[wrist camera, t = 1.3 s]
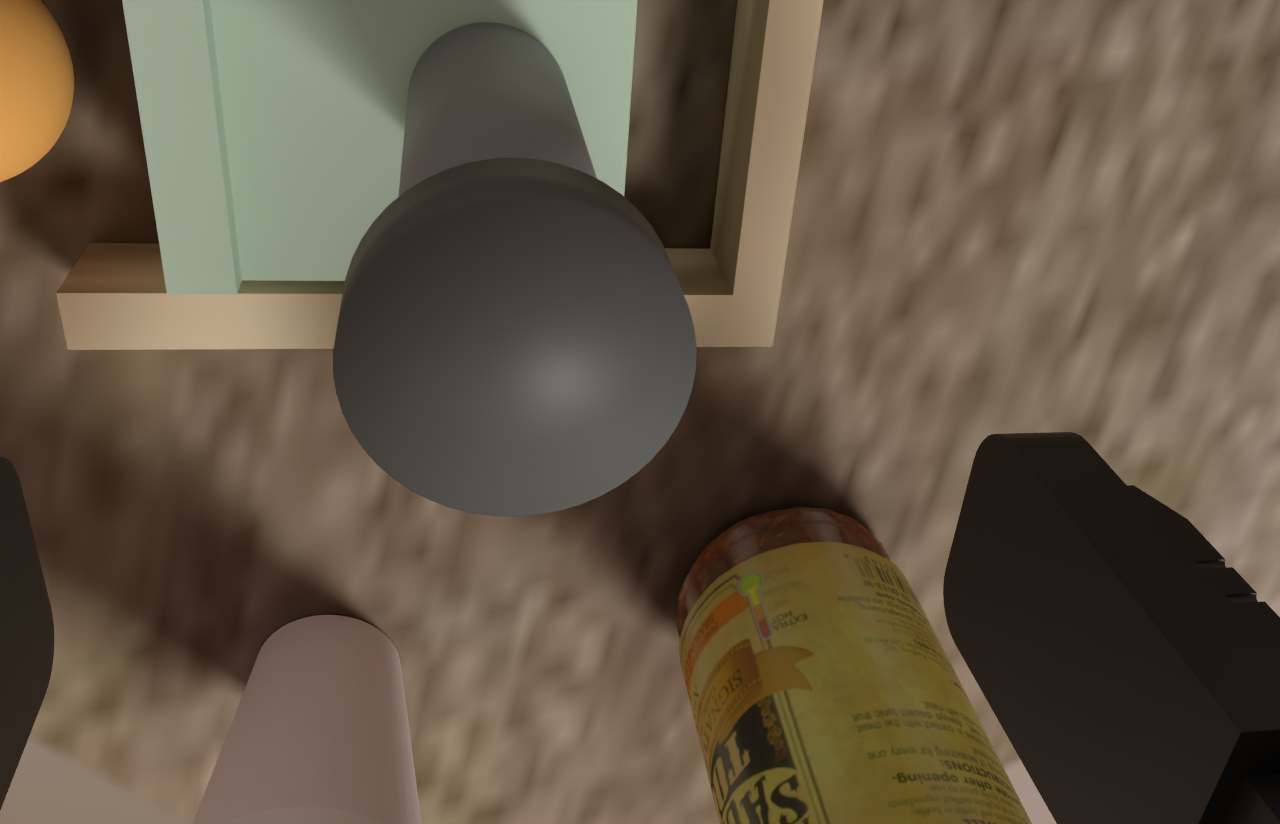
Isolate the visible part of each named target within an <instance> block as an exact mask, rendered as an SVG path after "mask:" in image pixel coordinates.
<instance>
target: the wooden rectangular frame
mask: <svg viewBox="0 0 1280 824" xmlns="http://www.w3.org/2000/svg"><path fill="white" fill-rule="evenodd" d="M822 7H823V0H738V1H737V11H736V20H735V29H734V38H733V47H732V56H731V65H730V74H729V83H728V92H727V101H726V111H725V120H724V129H723V138H722V147H721V156H720V165H719V174H718V183H717V192H716V201H715V211H714V220H713V229H712V238H711V247H710V249H686V248H665V251H666V253H667V255H668V258H669V260H670V262H671V265H672V267H673V270H674V272H675V275H676V277H677V279H678V282H679V284H680V287H681V289H682V292H683V294H684V297H685V299H686V302H687V304H688V307H689V309H690V313H691V317H692V321H693V325H694V328H695V337H696V346H697V347H773V341H774V335H775V328H776V321H777V314H778V307H779V301H780V294H781V287H782V280H783V273H784V266H785V260H786V253H787V246H788V239H789V232H790V225H791V219H792V212H793V205H794V198H795V191H796V185H797V178H798V171H799V164H800V157H801V150H802V144H803V137H804V130H805V123H806V116H807V110H808V103H809V96H810V89H811V82H812V75H813V69H814V62H815V55H816V48H817V41H818V34H819V28H820V21H821V14H822ZM344 283H345V281H254V280H242V282H241V285H240V288H239V291H238V294H167V291H166V285H165V278H164V272H163V265H162V259H161V252H160V245H159V243H89V244H88V246H87V247H86V249H85V250H84V252H83V253H82V255H81V256H80V258H79V259H78V261H77V262H76V264H75V265H74V267H73V268H72V270H71V271H70V273H69V274H68V276H67V277H66V279H65V280H64V282H63V283H62V285H61V286H60V288H59V289H58V291H57V293H56V295H57V300H58V305H59V310H60V315H61V319H62V324H63V329H64V334H65V339H66V344H67V348H68V350H141V349H333V348H334V342H335V336H336V330H337V324H338V318H339V312H340V306H341V301H342V295H343V289H344Z"/></svg>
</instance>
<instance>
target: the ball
mask: <svg viewBox="0 0 1280 824" xmlns="http://www.w3.org/2000/svg"><path fill="white" fill-rule="evenodd" d="M73 96H74V72H73V64H72V60H71V56H70V52H69V49H68V46H67V44H66V41H65V39H64V36H63V34H62V32H61V30H60V28H59V26H58V24H57V22H56V20H55V19H54V18H53V16H52V15H51V13H50V12H49V10H48V9H47V7H46V6H45V5H44V4H43V3H42V1H41V0H0V182H2V181H5V180H7V179H10V178H12V177H14V176H16V175H18V174H20V173H22V172H24V171H25V170H27V169H28V168H30V167H31V166H33V165H34V164H35V163H37V162H38V161H39V160H40V159H41V158H42V157H43V156H45V155H46V154H47V153H48V152H49V150H50V149H51V148H52V147H53V145H54V144H55V143H56V142H57V140H58V138H59V137H60V135H61V133H62V131H63V129H64V128H65V126H66V124H67V121H68V118H69V115H70V112H71V107H72V102H73Z"/></svg>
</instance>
